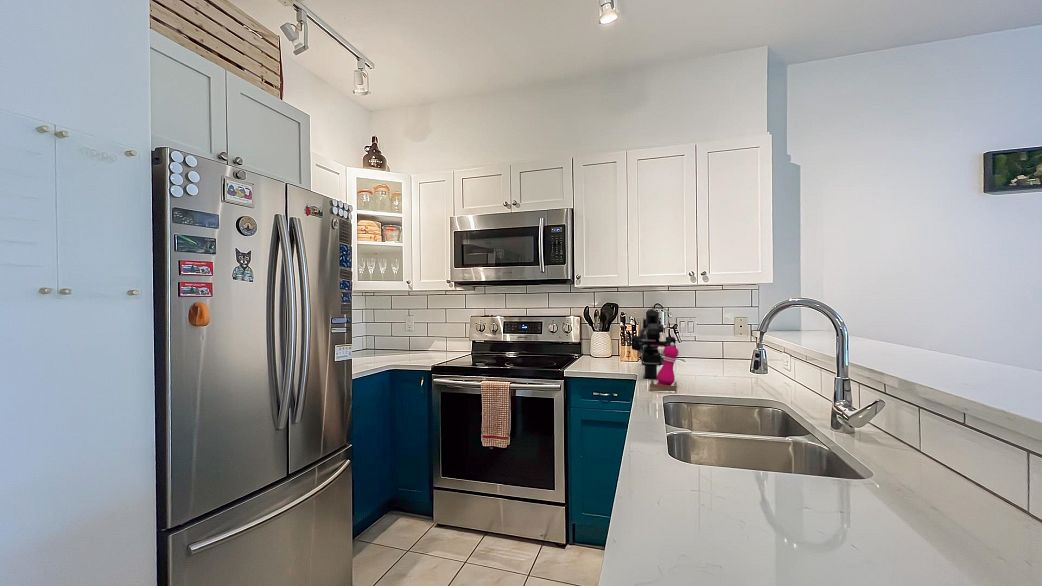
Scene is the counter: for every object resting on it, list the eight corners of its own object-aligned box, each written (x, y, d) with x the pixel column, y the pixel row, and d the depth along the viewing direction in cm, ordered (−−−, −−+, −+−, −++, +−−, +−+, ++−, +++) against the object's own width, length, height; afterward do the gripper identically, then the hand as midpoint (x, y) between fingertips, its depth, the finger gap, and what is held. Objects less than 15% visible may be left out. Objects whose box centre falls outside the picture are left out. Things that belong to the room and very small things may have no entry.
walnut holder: (651, 386, 191) (651, 380, 191) (676, 388, 187) (676, 381, 187) (649, 391, 182) (649, 384, 182) (675, 393, 178) (675, 386, 178)
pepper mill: (652, 386, 185) (661, 340, 184) (658, 385, 190) (667, 340, 190) (668, 391, 180) (678, 344, 180) (674, 390, 186) (684, 344, 185)
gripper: (631, 319, 201) (632, 336, 187) (674, 320, 197) (678, 338, 183) (631, 340, 206) (632, 358, 192) (673, 341, 202) (676, 360, 188)
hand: (654, 353), depth 189 cm, fingers open, 9 cm apart
